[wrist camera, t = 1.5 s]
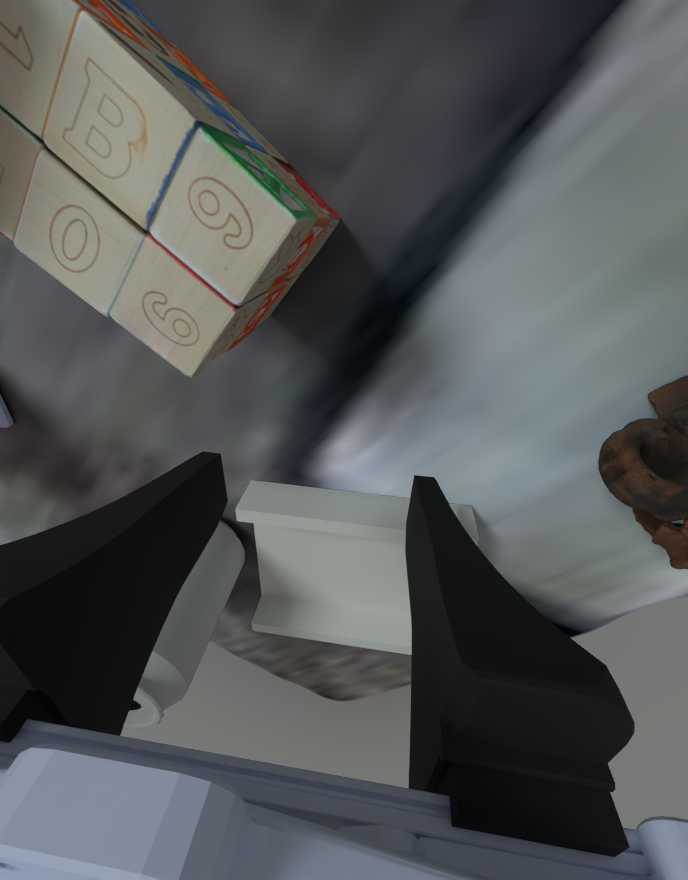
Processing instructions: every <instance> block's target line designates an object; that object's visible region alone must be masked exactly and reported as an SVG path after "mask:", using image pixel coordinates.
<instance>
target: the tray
mask: <svg viewBox="0 0 688 880" xmlns="http://www.w3.org/2000/svg"><path fill="white" fill-rule="evenodd" d="M409 503H410V499H407V498H399V497H390V496H382V495H373V494H365V493H356V492H348V491H339V490H331V489H322V488H314V487H305V486H297V485H288V484H279V483H271V482H262V481H254V480H251V482H250V483H249V485H248V487H247V489H246V491H245V492H244V494H243V496H242V498H241V500H240V502H239V503H238V505H237V507H236V509H235V511H236V518H237V521H241V522H249V523H254V531H255V540H256V549H257V558H258V568H259V577H260V586H261V598H260V601H259V603H258V606H257V609H256V612H255V614H254V617H253V620H252V623H251V625H252V631H257V632H264V633H270V634H277V635H284V636H290V637H297V638H303V639H310V640H316V641H323V642H330V643H336V644H343V645H349V646H356V647H362V648H369V649H376V650H382V651H389V652H395V653H402V654H408V655H412V626H411V611H410V600H409V589H408V578H407V566H406V555H405V540H406V520H407V515H408V509H409ZM449 505H450V507H451V508H452V510H453V511H454V513H455V515H456V516H457V518H458V519H459V521H460V522H461V524H462V526H463V527H464V529H465V530H466V531H467V533H468V534H469V536H470V537H471V539H472V540H473V541H474V543H475V544H476V545H477V546H478V543H479V540H480V539H479V535H478V531H477V527H476V522H475V518H474V514H473V510H472V506H467V505H459V504H450V503H449Z"/></svg>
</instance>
